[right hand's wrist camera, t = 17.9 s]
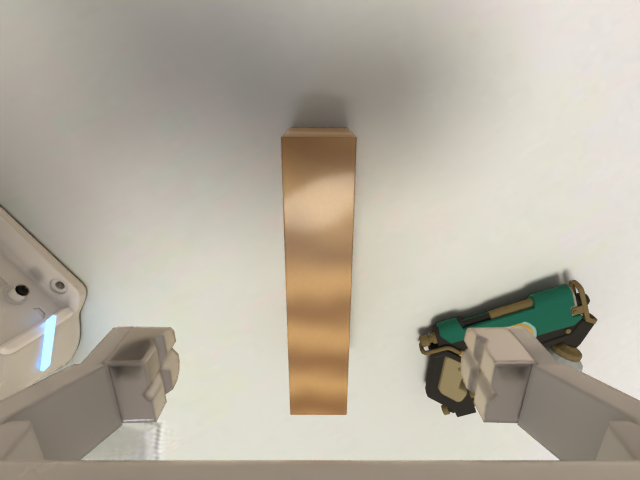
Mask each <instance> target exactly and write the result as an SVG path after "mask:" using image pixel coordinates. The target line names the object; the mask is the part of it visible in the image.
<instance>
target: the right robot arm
mask: <svg viewBox="0 0 640 480" xmlns="http://www.w3.org/2000/svg"><path fill="white" fill-rule="evenodd" d="M61 282H62V283H63V284H64V285H62V284H61ZM86 294H87V293H86V288H85V286H84V285H83V284H82V283H81V282H80V281H79V280H78V279H77V278H76V277H75V276H74V275H73V274H72V273H71V272H70V271H68V270H67V269H66V268H65V267H64V266H63V265H62V264H61V263H60V262H59V261H58V260H57V259H56V258H55V257H54V256H52V255H51V254H50V253H49V252H48V251H47V250H46V249H45V248H44V247H43V246H42V245H41V244H40V243H39V242H38V241H36V240H35V239H34V238H33V237H32V236H31V235H30V234H29V233H28V232H27V231H26V230H25V229H24V228H23V227H22V226H20V225H19V224H18V223H17V222H16V221H15V220H14V219H13V218H12V217H11V216H10V215H9V214H8V213H7V212H6V211H4V210H3V209H2V208H1V207H0V480H640V401H639V400H637V399H635V398H633V397H631V396H629V395H627V394H625V393H623V392H621V391H619V390H617V389H615V388H613V387H611V386H609V385H607V384H605V383H603V382H601V381H599V380H597V379H595V378H593V377H591V376H589V375H587V374H585V373H583V372H581V371H579V370H576V369H574V368H572V367H570V366H568V365H566V364H559V363H558V362H557V361H556V359H555V358H554V357H553V356H552V355H551V354H550V353H549V352H548V351H547V350H546V349H545V347H544V346H543V345H542V344H541V343H540V342H539V341H538V340H537V339H536V338H535V336H534V335H533V334H532V333H531V332H530V331H529V330H528V329H527V328H525V327H523V326H517V327H491V328H467V330H466V332H465V337H464V342H465V343H466V345H467V347H468V348H467V349H466V350H465V351H464V352H463V353H462V355H461V363H460V366H461V375H462V378H463V382H464V384H465V386H466V388H467V389H468V390H469V391H470V392H472V393H473V394H475V396H474V401H473V402H474V404H475V406H476V408H477V410H478V412H479V414H480V416H481V418H482V419H483V421H484V422H497V423H518V425H519V426H520V427H521V428H522V429H523V430H525V431H526V432H527V433H528V434H529V435H531V436H532V437H533V438H534V439H535V440H537V441H538V442H539V443H540V444H541V445H543V446H544V447H545V448H546V449H547V450H549V451H550V452H551V453H552V454H553V455H555V456H556V457H557V458H558V459H559V460H489V461H346V460H128V461H103V460H81V459H82V458H83V457H84V456H86V455H87V454H88V453H89V452H90V451H92V450H93V449H94V448H95V447H96V446H98V445H99V444H100V443H101V442H102V441H104V440H105V439H106V438H107V437H108V436H110V435H111V434H112V433H113V432H114V431H116V430H117V429H118V428H119V427H120V426H122V423H142V422H156V421H157V420H158V418H159V416H160V414H161V412H162V410H163V408H164V406H165V404H166V402H167V401H166V396H165V394H167V393H168V392H170V391H171V390H172V389H173V388H174V386H175V384H176V382H177V378H178V374H179V355H178V353H177V352H176V351H175V350H174V349H173V348H172V347H173V345H174V343H175V342H176V338H175V333H174V330H173V329H172V328H171V327H115V328H113V329H112V330H111V331H110V332H109V333H108V334H107V335H106V336H105V338H104V339H103V340H102V341H101V342H100V343H99V344H98V345H97V346H96V347H95V349H94V350H93V351H92V352H91V353H90V354H89V355H88V356H87V357H86V358H85V359H84V361H83V362H82V363H81V364H74V365H72V366H70V367H68V368H66V369H63V370H61V371H59V372H57V373H55V374H53V375H51V376H49V377H47V378H45V379H43V380H41V381H39V382H37V383H35V382H36V381H38V380H39V379H41V378H42V377H44V376H46V375H47V374H49V373H51V372H53V371H55V370H57V369H58V368H60V367H62V366H63V365H65V364H66V363H67V362H68V361H69V360H70V359H71V358H72V356H73V355H74V353H75V352H76V350H77V347H78V344H79V340H80V322H79V314H80V310H81V308H82V306H83V304H84V301H85V299H86ZM33 383H35V384H33ZM32 384H33V385H32ZM30 385H31V386H30Z"/></svg>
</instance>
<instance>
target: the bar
mask: <svg viewBox="0 0 640 480" xmlns="http://www.w3.org/2000/svg"><path fill="white" fill-rule="evenodd" d="M356 141H357V138H356V136H355V135H354V134H353V133H352V132H351V131H350V130H349V129H348V128H290V129H289V130H288V131H287V132H286V133H285V134H284V135H283V136H282V137H281V151H282V180H283V210H284V240H285V269H286V299H287V329H288V359H289V388H290V414H291V415H346V414H347V388H348V360H349V333H350V306H351V278H352V251H353V223H354V196H355V168H356Z"/></svg>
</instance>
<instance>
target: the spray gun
mask: <svg viewBox="0 0 640 480" xmlns="http://www.w3.org/2000/svg"><path fill="white" fill-rule="evenodd" d="M575 287H576V288H577V289H578V291H579V293H577V294H576V290H575ZM589 302H590V299H589V297H588V296H587V295H586V294H585V292H584V289H583V287H582V285H581V284H579V283H578V282H577V281H576V280H572V281H569V286H568V285H566V284H563V285H560V286H557V287H553V288H550V289H547V290H543V291H540V292H537V293H534V294H530V295H529V296H528V297H527V299H526V300H523V301H520V302H516V303H513V304H510V305H506V306H503V307H500V308H497V309H493V310H490V311H488V312H485V313H482V314H479V315H475V316H472V317H469V318H466V319H461V317H453V318H450V319H447V320H443V321H440V322H437V323H436V326H433V331H434V332H432V333H431V334H430V336H427V335H423V336H420V337H419V338H420V341H421V342H420V343H419V347H420V351H421V353H422V354H424V355H430V354H431V358H430V363H429V369H428V375H427V381H426V387H425V389H426V393H427V396H428V397H429V398H431V399H433V400H435V401H437V402H439V403H441V404H443V405H442V406H441V408H442V411H443V413H444V414H445V415H447V414H450V412H452V413H456V415H457V417H460V416H464V415H467V414H471V413H475V412H476V410H475V407H474V406H475V404H474V402H473V401H474V396H475V394H473V393H472V392H470V391H469V390H468V389H467V388H466V386H465V384H464V382H463V381H461V379H462V375H461V366H460V363H461V355H462V353H463V352H464V351H465V350H466V349H467V348H468V347H467V345H466V343H465V342H464V337H465V332H466V330H467V328H491V327H517V326H523V327H525V328H527V329H528V330H529V331H530V332H531V333H532V334H533V335H534V336H535V338H536V339H537V340H538V341H539V342H540V343H541V344H542V345H543V346H544V347H545V349H546V350H547V351H548V352H549V353H550V354H551V355H552V356H553V357H554V358H555V359H556V361H557V362H558V363H559V364H566V365H568V366H570V367H572V368H574V369H576V370H579V371H581V372H582V364H581V362H580V360H581V358H582V354H581V352H580V351H579V350H578V349H577V348H576V347H578V346H579V345H580V344H581V342H582V341H583V340H584V338H585V337H586V335H587V334H588V332H589V331H590V330H591V328H592V327H593V325H594V324H595V323H596V321H597V319H596V318H595V317H594V316H593V315H592V314H590V313H589V310H588V306H587V305H588V304H589ZM581 314H582V315H583V316H582V315H581ZM425 346H428V347H429V351H425V350H424V348H423V347H425Z"/></svg>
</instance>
